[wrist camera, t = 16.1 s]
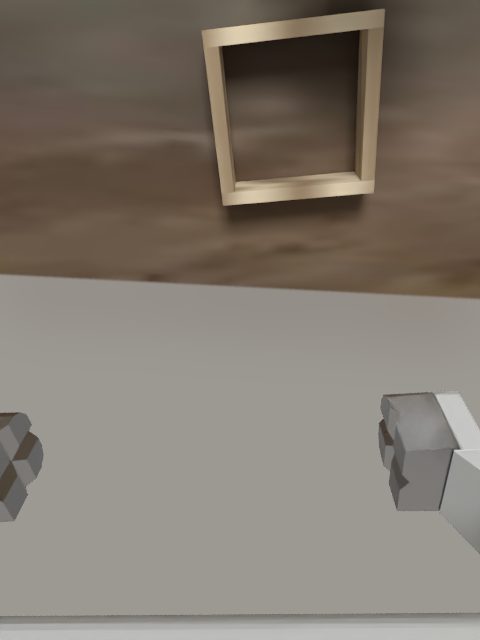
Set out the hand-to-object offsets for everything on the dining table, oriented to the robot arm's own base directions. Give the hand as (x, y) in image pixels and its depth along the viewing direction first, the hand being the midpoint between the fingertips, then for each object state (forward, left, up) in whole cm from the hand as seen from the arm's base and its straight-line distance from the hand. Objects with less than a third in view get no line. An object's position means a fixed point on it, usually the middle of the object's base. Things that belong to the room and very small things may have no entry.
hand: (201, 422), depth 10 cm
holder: (+4, +2, -31) cm, 31 cm away
